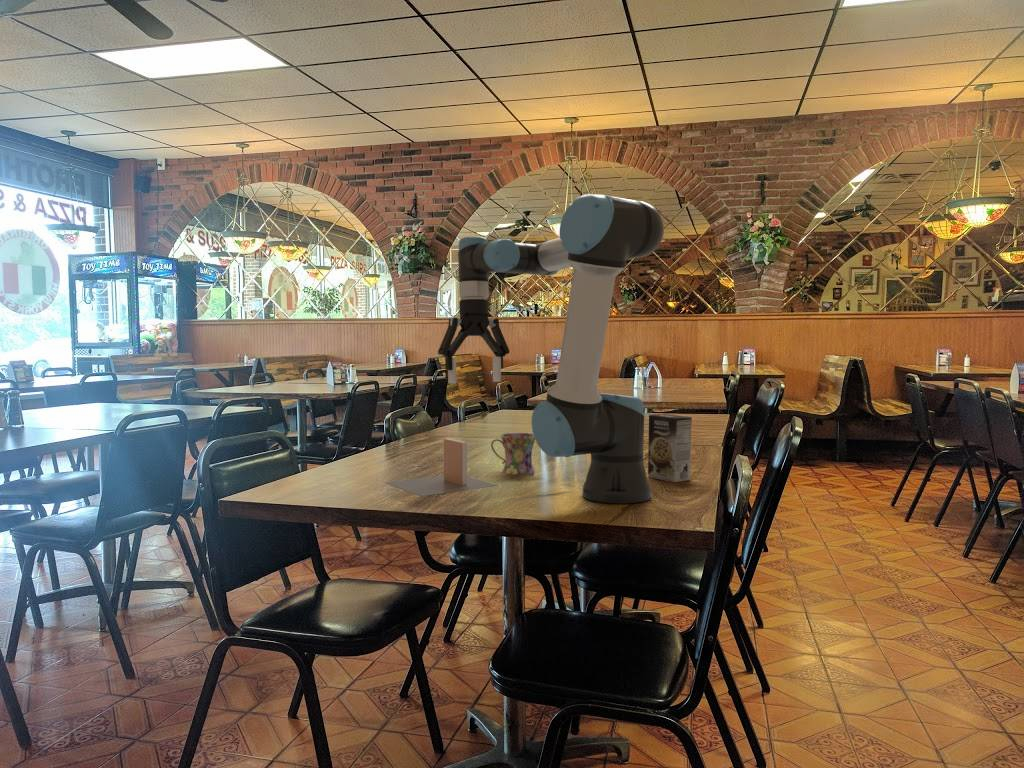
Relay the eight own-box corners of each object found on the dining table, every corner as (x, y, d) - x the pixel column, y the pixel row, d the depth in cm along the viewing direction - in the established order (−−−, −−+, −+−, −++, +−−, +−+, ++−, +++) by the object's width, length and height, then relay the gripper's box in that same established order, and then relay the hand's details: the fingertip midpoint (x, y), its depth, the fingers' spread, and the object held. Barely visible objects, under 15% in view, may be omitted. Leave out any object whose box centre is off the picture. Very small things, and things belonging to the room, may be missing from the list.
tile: (467, 484, 172) (467, 442, 171) (461, 485, 171) (461, 442, 170) (449, 479, 178) (449, 438, 178) (443, 479, 177) (443, 438, 177)
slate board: (497, 490, 171) (497, 485, 171) (421, 501, 159) (421, 496, 159) (457, 478, 186) (457, 473, 185) (385, 487, 174) (385, 482, 174)
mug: (540, 473, 193) (540, 433, 192) (531, 480, 184) (531, 438, 183) (496, 471, 196) (496, 431, 195) (485, 477, 187) (485, 436, 186)
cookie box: (646, 477, 188) (647, 414, 187) (663, 474, 192) (664, 413, 191) (674, 482, 181) (675, 417, 180) (691, 479, 184) (692, 416, 183)
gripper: (505, 301, 196) (506, 380, 197) (423, 298, 182) (425, 383, 183) (522, 299, 190) (522, 381, 191) (438, 296, 176) (440, 384, 177)
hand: (475, 382), depth 187 cm, fingers open, 13 cm apart
